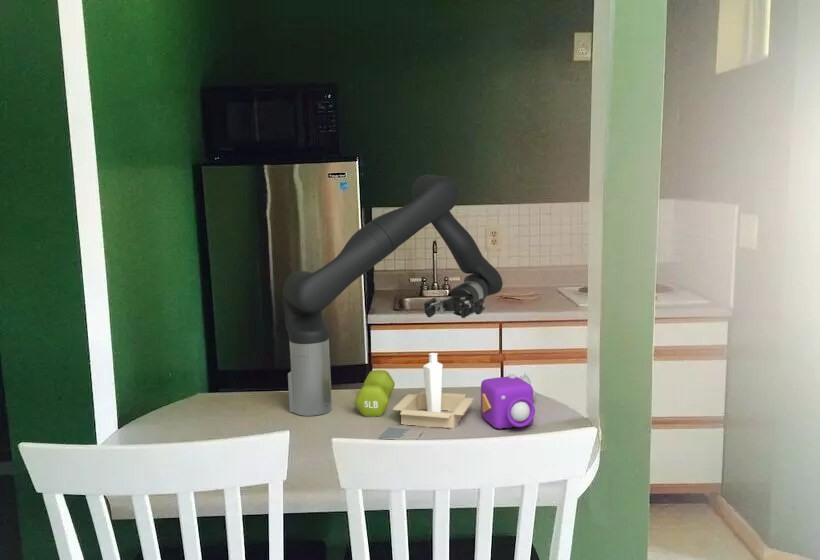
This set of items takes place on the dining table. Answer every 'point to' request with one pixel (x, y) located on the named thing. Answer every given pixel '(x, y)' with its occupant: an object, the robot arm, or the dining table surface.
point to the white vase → (433, 383)
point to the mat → (393, 433)
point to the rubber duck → (526, 379)
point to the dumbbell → (375, 393)
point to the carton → (448, 402)
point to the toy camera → (507, 402)
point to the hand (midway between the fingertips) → (445, 313)
